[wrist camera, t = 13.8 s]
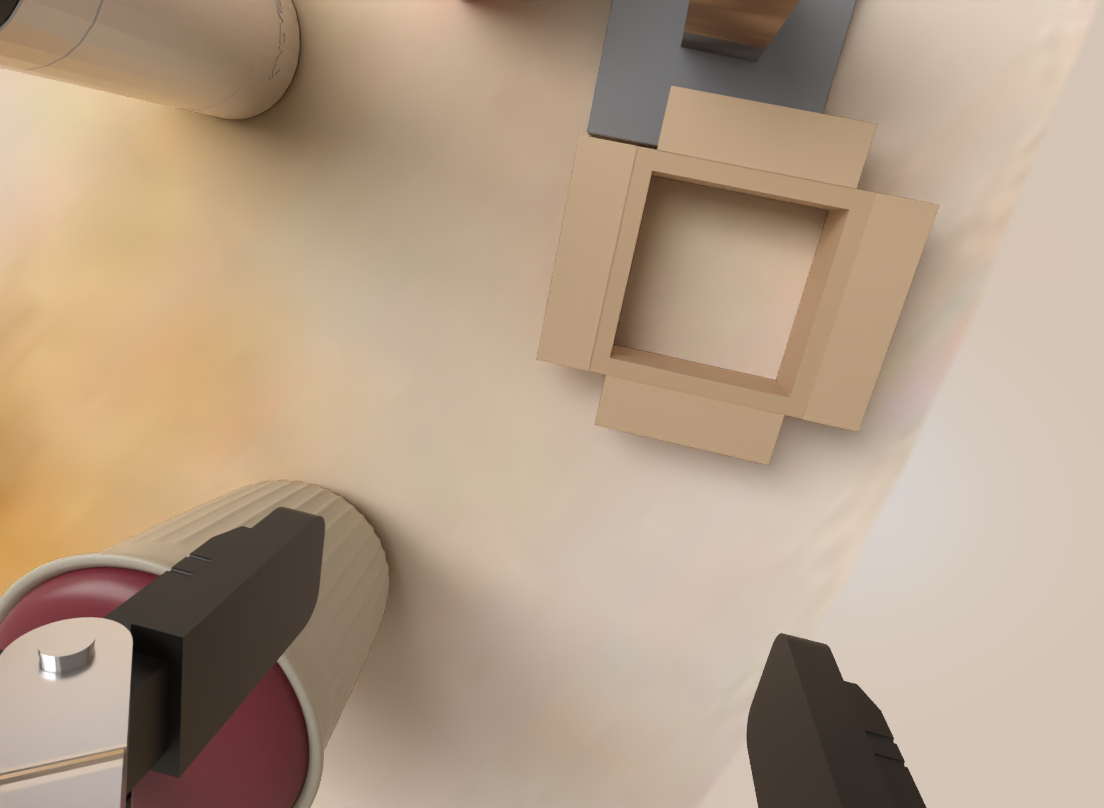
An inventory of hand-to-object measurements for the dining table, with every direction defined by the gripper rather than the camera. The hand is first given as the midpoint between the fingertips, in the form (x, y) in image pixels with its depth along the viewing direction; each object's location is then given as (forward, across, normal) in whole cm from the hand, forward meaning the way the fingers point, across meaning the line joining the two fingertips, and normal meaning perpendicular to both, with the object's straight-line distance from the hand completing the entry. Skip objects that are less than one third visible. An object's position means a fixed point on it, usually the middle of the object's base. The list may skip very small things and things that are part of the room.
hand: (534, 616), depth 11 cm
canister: (+30, +18, +21) cm, 41 cm away
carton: (+30, -5, -4) cm, 31 cm away
